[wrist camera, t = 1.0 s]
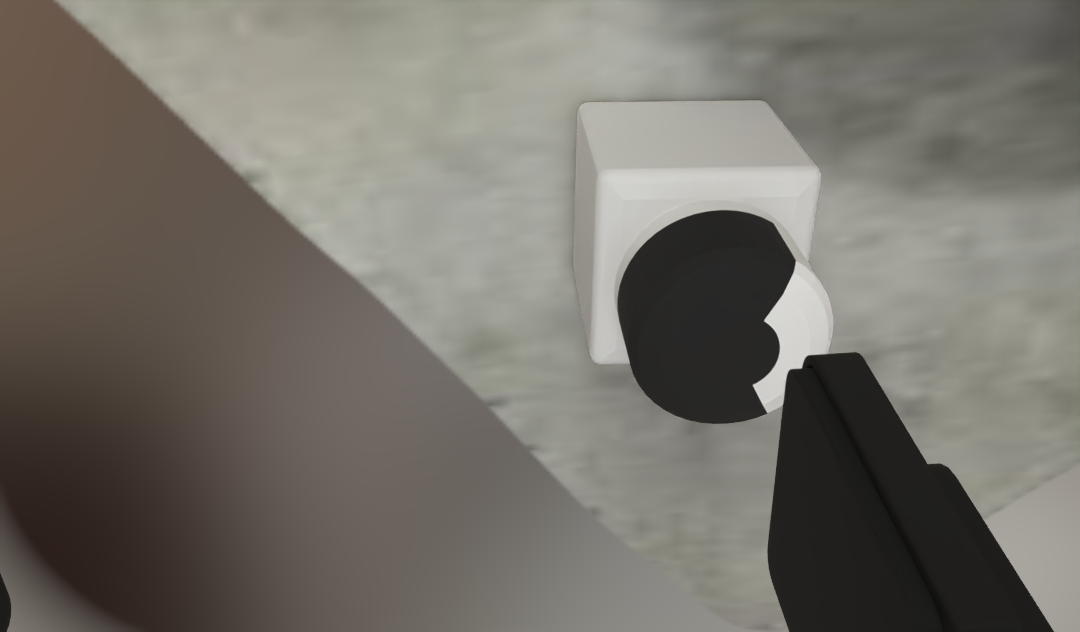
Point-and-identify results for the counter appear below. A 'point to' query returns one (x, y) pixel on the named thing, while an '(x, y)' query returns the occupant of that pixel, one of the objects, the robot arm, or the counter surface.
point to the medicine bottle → (698, 252)
